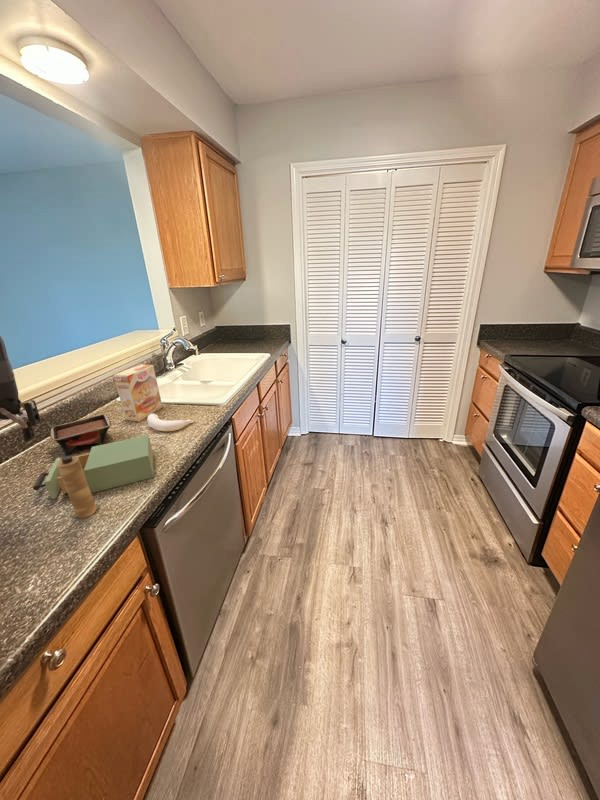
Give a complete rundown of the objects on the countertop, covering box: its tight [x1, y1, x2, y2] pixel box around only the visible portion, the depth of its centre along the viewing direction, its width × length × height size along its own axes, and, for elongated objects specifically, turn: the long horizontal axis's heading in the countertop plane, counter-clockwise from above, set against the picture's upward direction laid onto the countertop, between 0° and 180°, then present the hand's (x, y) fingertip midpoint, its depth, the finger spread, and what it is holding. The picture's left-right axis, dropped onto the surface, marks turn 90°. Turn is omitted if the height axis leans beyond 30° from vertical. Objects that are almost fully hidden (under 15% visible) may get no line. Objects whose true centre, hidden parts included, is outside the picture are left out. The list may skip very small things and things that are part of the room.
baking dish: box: [49, 413, 112, 456], centre depth 114 cm, size 14×18×10 cm
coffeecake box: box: [113, 364, 163, 422], centre depth 134 cm, size 15×7×20 cm, turn 164°
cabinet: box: [84, 434, 155, 494], centre depth 96 cm, size 16×14×7 cm
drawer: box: [32, 452, 90, 500], centre depth 91 cm, size 18×13×5 cm
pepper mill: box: [57, 455, 98, 519], centre depth 78 cm, size 4×4×16 cm
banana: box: [146, 413, 195, 432], centre depth 126 cm, size 5×19×15 cm
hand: (10, 440), depth 81 cm, fingers open, 8 cm apart
